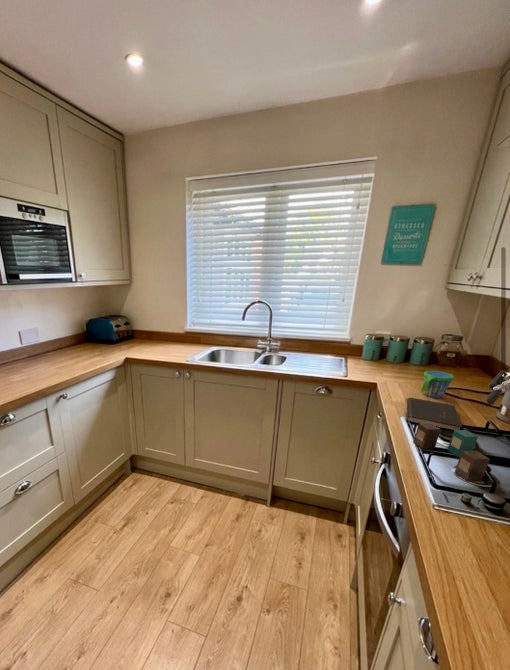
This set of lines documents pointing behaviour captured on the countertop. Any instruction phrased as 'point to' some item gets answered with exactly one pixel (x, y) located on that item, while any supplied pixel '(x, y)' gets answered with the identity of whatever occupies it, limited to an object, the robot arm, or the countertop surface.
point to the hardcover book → (433, 413)
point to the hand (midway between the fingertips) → (505, 407)
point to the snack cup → (436, 383)
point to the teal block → (462, 442)
